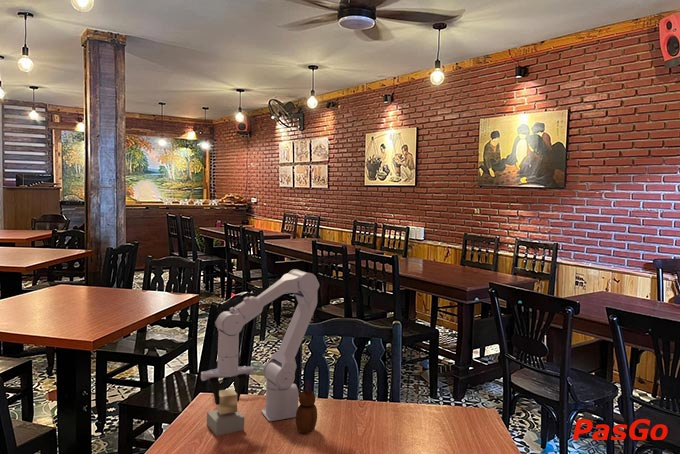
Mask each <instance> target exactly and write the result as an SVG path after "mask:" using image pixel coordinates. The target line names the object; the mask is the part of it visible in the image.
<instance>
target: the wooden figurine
mask: <svg viewBox="0 0 680 454" xmlns="http://www.w3.org/2000/svg"><path fill="white" fill-rule="evenodd" d="M315 403H316V394H315V391H312V390H310V380H307V382H306V384H305V390H303V391H301V392H299V401H298V408H297V411H296V417H295V426H296V428H297V430H298V432H299V433H301V434H305V435H306V434H311V433H313V432H314V431H315V428H316V426H317V422H318V409H317V406H316V405H315Z"/></svg>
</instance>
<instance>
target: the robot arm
mask: <svg viewBox="0 0 680 454" xmlns="http://www.w3.org/2000/svg"><path fill="white" fill-rule="evenodd" d="M319 288H320V282H319V281H318V279H317V276H316V275H315V274H314V273H311V272H306V271H303V270H300V269H297V268H296V269H295V268H294V269H291V270H289V272H288V273H284V274H283V275H282V276H281V278H280V279H278V280H277V281H275V283H273V284H272V285H270V286H269V287H268V288H267V289H265V290H263V291H262V292H261V293H260V294H258V295H257V296H252V295H250V296H245V297H244V298H243V300H242V301H241V302H240V303H237V304H236V305H235V306H234V307H233V306H232V307H229V310H226V311H222V312H221V313H219V315H218V316H217V318H216V320H215V321H214V324H215V327H216V328H217V330H218V337H217V339H218V340H217V367H216V368H214V369H209V370H205V371H201V372H200V379H201V381H202V382H203V381H204V382H205V381H207V380H208V382H209V384H210V387H211V390H212V392H213V393H212V394H213V397H214V398H213V399H214V404H215V406H216V405H219V391H220V387H221V383H220V379H221V378H229V377H230V378H231V377H234V391H235V392H236V393H237V403H239V402H240V397H241V393H242V392H243V390H244V389H243V388H244V386H245V385H246V383H247V381H248V377H247V376H253V375H254V372H255V371H254V367H253V366H249V365H248V366H239V351H240V350H239V343H240V333H241V331H242V330H243V327H244V325H246V324H247V323H249V322H251V320H253V319H255V318H256V317H257V316H259V315H260V314H261V313H262V312H263V309H264V307H265V306H267V305H268V304H270V303H272V302H273V301H276V299H278V298H280V297H281V296H283V295H284V294H286V293H288V294H291V293H292V294H294V296H295V299H296V301H297V306H296V308H295V310H294V312H293V315H292V317H291V320H290V322H289V324H288V327H287V330H286V332H285V334H284V337H283V338H282V340H281V341H282V342H281V344H280V346H279V348H278V350H277V351H276V352H274V353H273V354H271V356H270V359H269V360H268V361H267V362H266V363H265V364H264V366H263V370H262V373H263V374H262V375H263V376H264V378H265V379H266V384H265V385H266V389H265V408H263V409H260V412H261V413H262V414H263V415H264V417H265V418H266V420H267V421H268V422H273V421H281V420H286V419H292V418H296V411H297V408H298V407H299V396H300V392H299V388H298V386H297V384H296V383H294V382H295V379H296V375H295V374H296V369H297V363H296V362H297V361H296V356H297V354H298V352H299V348H300V347H301V344H302V341H303V339H304V336H305V335H306V332H307V330H308V327H309V325H310V322H311V320H312V318H313V315H314V313H315V310H316V308H317V305H318V291H319Z"/></svg>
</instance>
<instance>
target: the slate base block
mask: <svg viewBox="0 0 680 454" xmlns="http://www.w3.org/2000/svg"><path fill="white" fill-rule="evenodd" d="M206 426H207V427H208V428H209V429H210V430H211V431H212V433H213V434H214V435H215V436H216V437H218V436H222V435H227V434H231V433H236V432H239V431H244V430H245V416H244V415H243V413H241V412H240V411H239V410H238V409H237V412H233V413H227V414H221V415H220V414H219V412H218V410H217V409H216V410H211V411H210V410H209V411H206Z"/></svg>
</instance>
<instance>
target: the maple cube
mask: <svg viewBox="0 0 680 454" xmlns="http://www.w3.org/2000/svg"><path fill="white" fill-rule="evenodd" d="M215 409H216V410H218V412H219V414H220V415H221V414H227V413H233V412H237V410H238V402H237V393H236V392H235V388H228V389H227V388H226V389H219V405H216V404H215Z"/></svg>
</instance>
